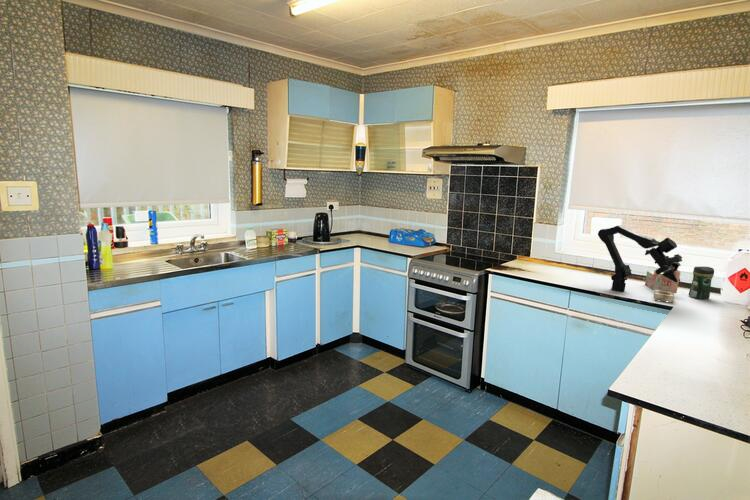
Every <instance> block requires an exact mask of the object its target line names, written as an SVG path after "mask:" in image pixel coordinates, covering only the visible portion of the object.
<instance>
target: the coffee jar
mask: <svg viewBox="0 0 750 500" xmlns="http://www.w3.org/2000/svg"><path fill="white" fill-rule="evenodd" d="M692 275H693V276H692V277H693V278H692V281H691V285H690V287H689V291H688V296H689V297H690V298H692V297H693V299H698V300H708V299H710V297H711V287H712V279H713V277H714V276H715V269H714V267H710V266H694V268H693V271H692Z"/></svg>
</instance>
